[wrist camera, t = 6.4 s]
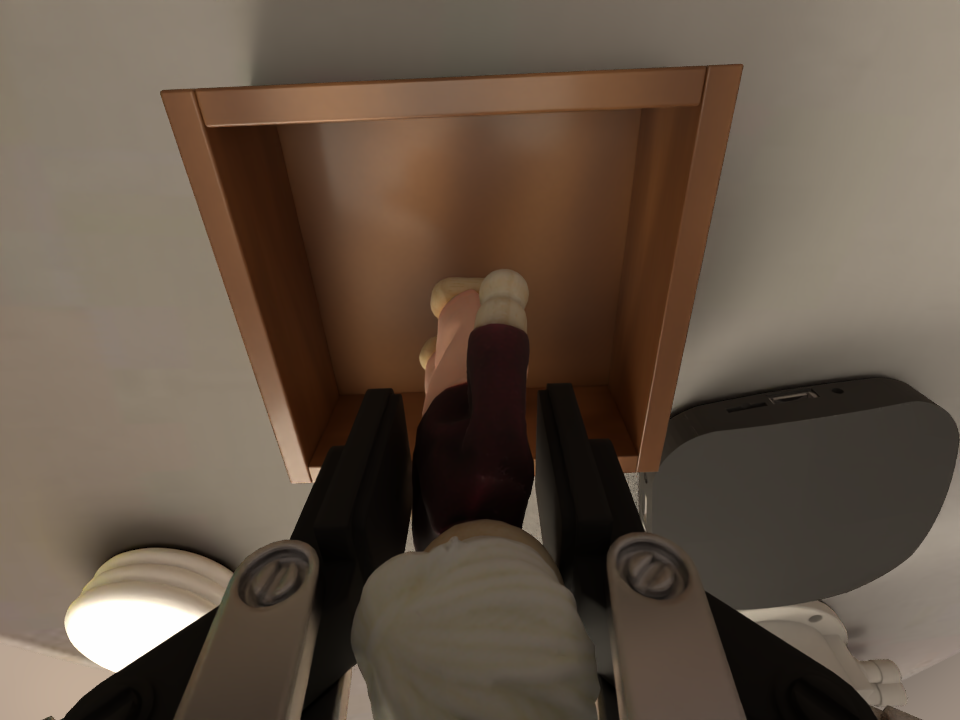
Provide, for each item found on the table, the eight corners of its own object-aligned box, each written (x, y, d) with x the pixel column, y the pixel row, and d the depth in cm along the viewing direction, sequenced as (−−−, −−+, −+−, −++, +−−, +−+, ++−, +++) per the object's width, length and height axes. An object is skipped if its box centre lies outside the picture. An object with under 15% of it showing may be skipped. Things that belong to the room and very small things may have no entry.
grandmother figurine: (510, 411, 18) (592, 889, 7) (411, 408, 18) (344, 900, 7) (538, 211, 15) (791, 580, 4) (414, 202, 14) (274, 574, 3)
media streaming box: (871, 552, 30) (909, 597, 27) (640, 581, 31) (655, 626, 29) (938, 360, 23) (998, 395, 20) (633, 408, 24) (652, 447, 21)
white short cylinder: (203, 529, 28) (171, 582, 25) (283, 620, 33) (264, 673, 30) (65, 560, 30) (19, 614, 27) (161, 643, 35) (131, 696, 32)
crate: (666, 69, 16) (745, 63, 12) (621, 392, 23) (658, 472, 19) (249, 88, 17) (157, 89, 12) (328, 403, 24) (290, 484, 19)
